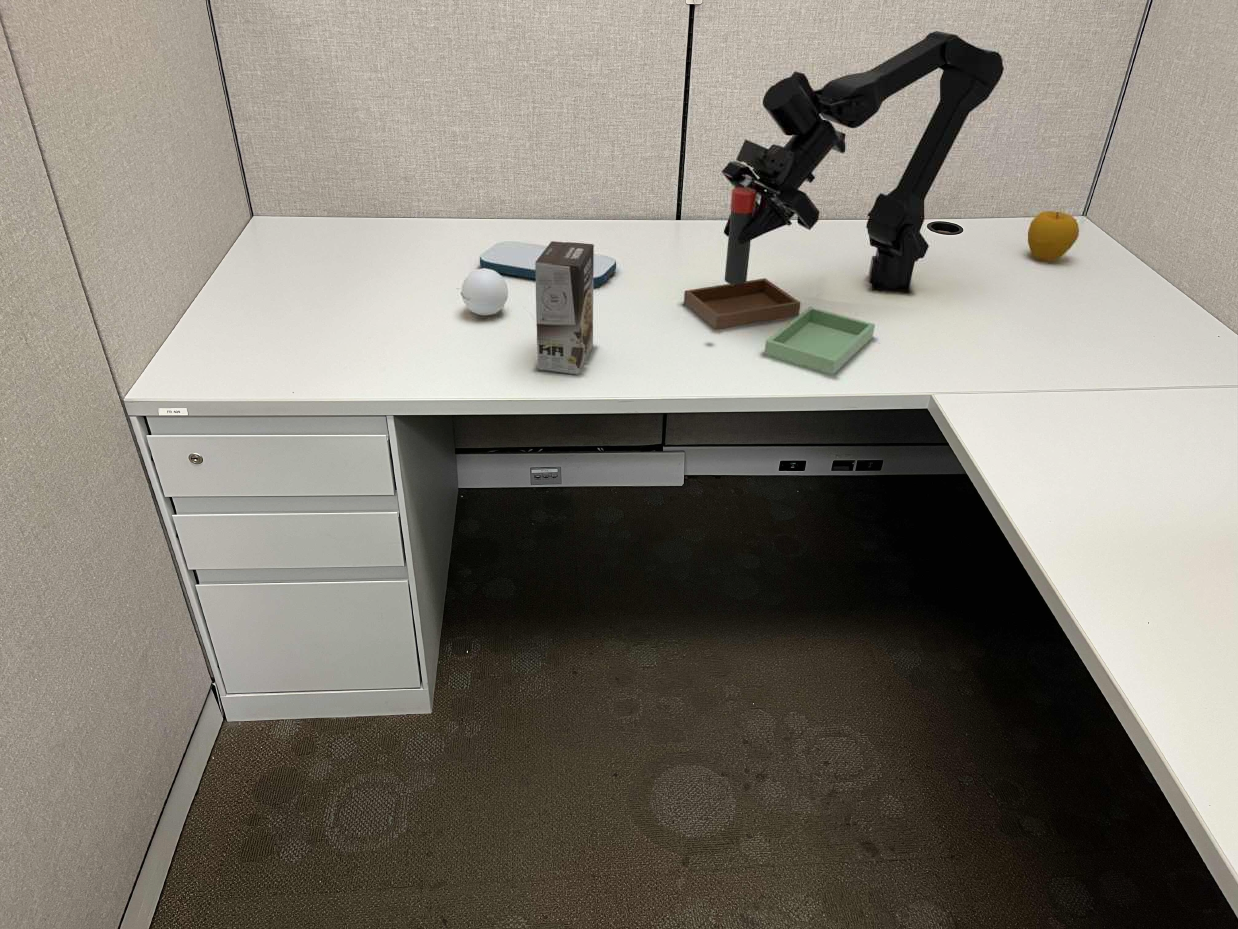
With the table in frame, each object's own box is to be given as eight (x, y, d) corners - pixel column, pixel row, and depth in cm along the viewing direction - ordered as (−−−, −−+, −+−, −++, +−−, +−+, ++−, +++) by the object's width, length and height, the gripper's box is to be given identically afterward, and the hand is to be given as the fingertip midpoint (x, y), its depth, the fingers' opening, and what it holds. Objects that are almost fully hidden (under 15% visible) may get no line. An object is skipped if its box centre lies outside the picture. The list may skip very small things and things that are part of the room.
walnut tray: (763, 291, 150) (765, 278, 149) (798, 316, 142) (800, 302, 141) (683, 304, 145) (684, 290, 144) (715, 331, 137) (716, 316, 135)
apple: (1073, 256, 168) (1088, 210, 163) (1065, 270, 162) (1080, 223, 157) (1026, 247, 171) (1039, 202, 166) (1017, 260, 165) (1030, 213, 160)
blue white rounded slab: (473, 270, 155) (472, 260, 154) (502, 249, 164) (502, 238, 163) (598, 291, 148) (598, 280, 147) (621, 268, 157) (621, 257, 156)
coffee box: (580, 375, 124) (580, 266, 115) (536, 370, 125) (532, 261, 116) (594, 347, 131) (595, 242, 122) (553, 342, 132) (551, 238, 123)
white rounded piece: (515, 307, 143) (513, 263, 139) (499, 325, 137) (497, 281, 133) (458, 299, 144) (454, 256, 140) (440, 317, 139) (435, 273, 134)
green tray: (807, 320, 141) (809, 306, 139) (872, 339, 136) (875, 324, 134) (763, 355, 130) (765, 340, 129) (832, 376, 125) (835, 361, 124)
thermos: (751, 279, 137) (761, 190, 130) (739, 286, 135) (748, 196, 127) (731, 274, 139) (740, 185, 131) (719, 281, 137) (727, 191, 129)
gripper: (737, 105, 132) (670, 188, 134) (814, 134, 119) (738, 225, 120) (774, 153, 140) (710, 231, 142) (850, 186, 126) (778, 271, 128)
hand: (732, 238), depth 133 cm, fingers closed on thermos, 3 cm apart
